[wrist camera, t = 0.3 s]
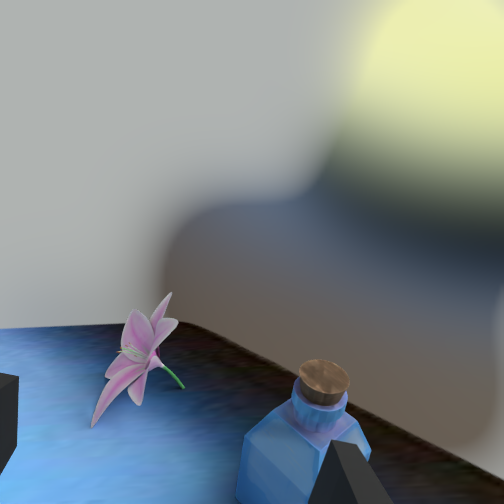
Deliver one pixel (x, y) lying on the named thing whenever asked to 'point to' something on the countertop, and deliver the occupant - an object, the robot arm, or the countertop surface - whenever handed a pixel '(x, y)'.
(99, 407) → the lily
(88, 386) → the countertop surface
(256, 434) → the perfume bottle
